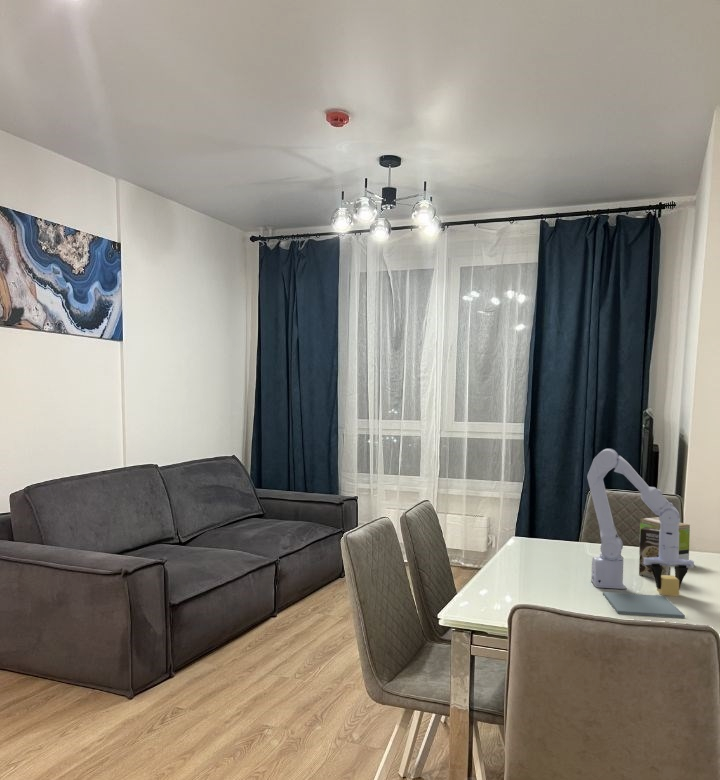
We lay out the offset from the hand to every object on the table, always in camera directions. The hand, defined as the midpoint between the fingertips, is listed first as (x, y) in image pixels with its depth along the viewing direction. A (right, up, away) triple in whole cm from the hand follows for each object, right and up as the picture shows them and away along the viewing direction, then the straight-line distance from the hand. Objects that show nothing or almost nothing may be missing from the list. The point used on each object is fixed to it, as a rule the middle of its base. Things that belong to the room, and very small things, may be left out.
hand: (667, 588), depth 209 cm
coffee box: (+5, -2, +20) cm, 21 cm away
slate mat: (-14, -1, -13) cm, 19 cm away
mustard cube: (0, -1, 0) cm, 1 cm away
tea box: (+19, -2, +44) cm, 48 cm away
